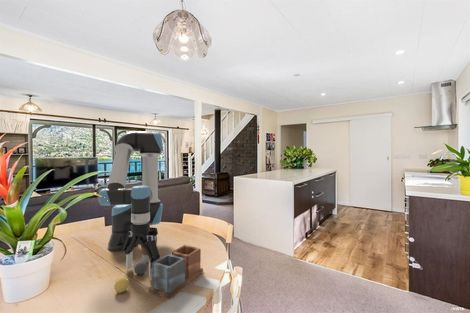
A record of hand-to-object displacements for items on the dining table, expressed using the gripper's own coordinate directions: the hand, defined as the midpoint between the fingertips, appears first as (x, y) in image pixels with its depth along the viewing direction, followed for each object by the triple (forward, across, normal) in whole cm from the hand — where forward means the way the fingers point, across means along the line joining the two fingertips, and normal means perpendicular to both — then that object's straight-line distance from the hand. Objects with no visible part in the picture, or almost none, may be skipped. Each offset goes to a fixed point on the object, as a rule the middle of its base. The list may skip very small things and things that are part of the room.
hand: (140, 271), depth 97 cm
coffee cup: (+1, -7, +11) cm, 13 cm away
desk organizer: (+1, +18, +3) cm, 18 cm away
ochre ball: (-1, +4, -12) cm, 12 cm away
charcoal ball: (-2, 0, 0) cm, 2 cm away
